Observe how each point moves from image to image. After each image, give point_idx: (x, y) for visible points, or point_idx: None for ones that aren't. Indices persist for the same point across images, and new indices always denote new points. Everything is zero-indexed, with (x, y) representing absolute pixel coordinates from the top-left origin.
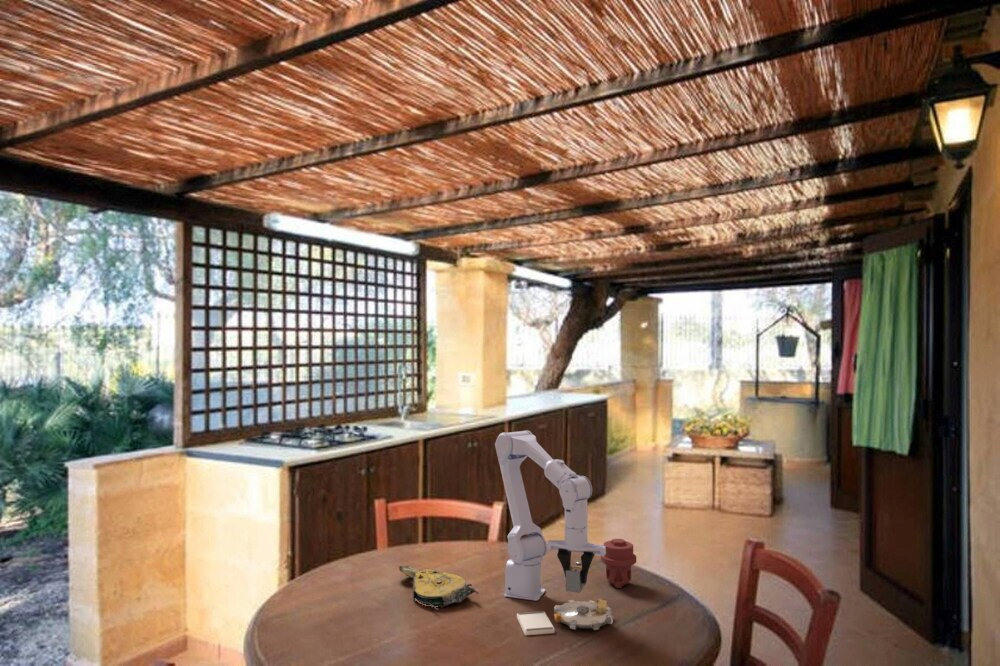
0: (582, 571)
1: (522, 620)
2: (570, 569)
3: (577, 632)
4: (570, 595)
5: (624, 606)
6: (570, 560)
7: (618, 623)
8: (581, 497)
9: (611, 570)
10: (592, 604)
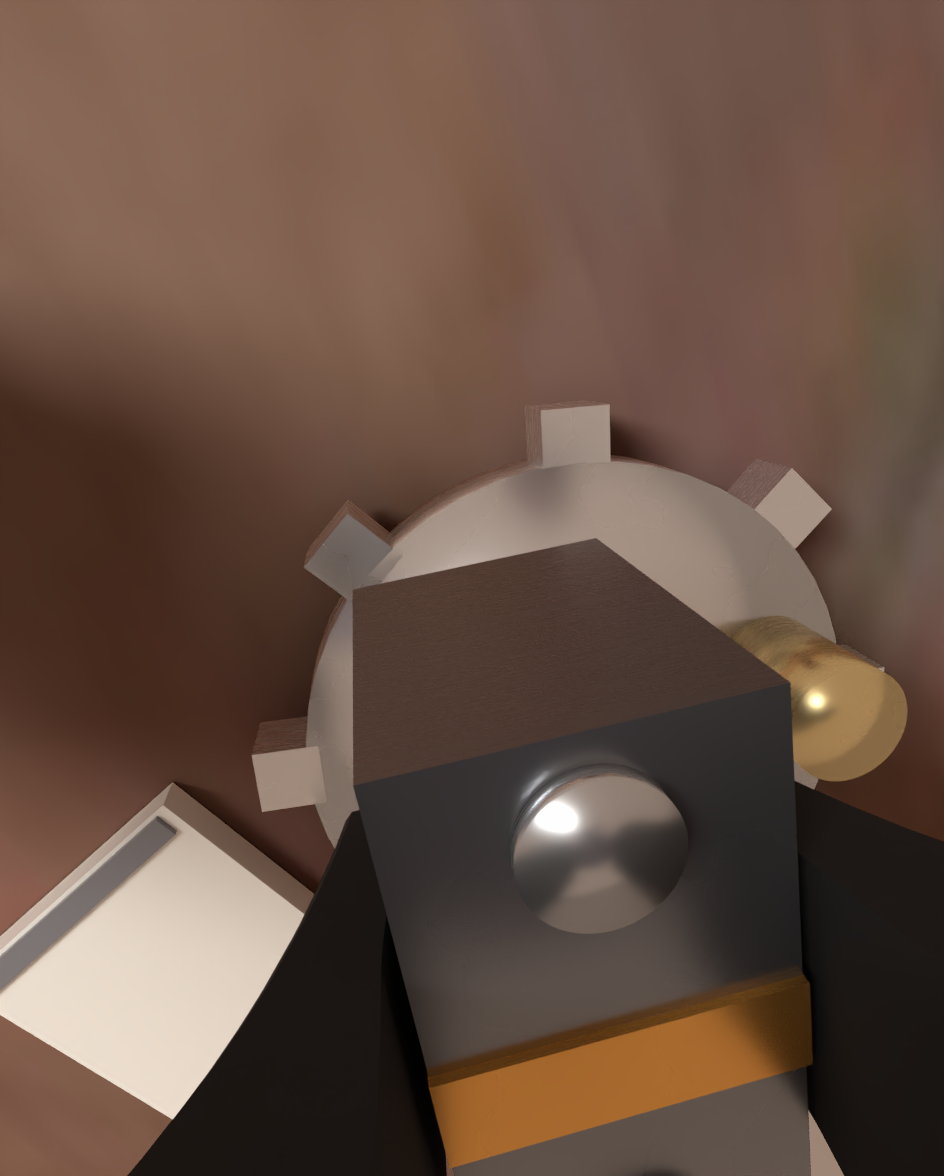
0: (807, 1089)
1: (113, 1062)
2: None
3: None
4: (74, 45)
5: (826, 66)
6: (380, 1053)
7: (852, 547)
8: None
9: None
10: (613, 516)
